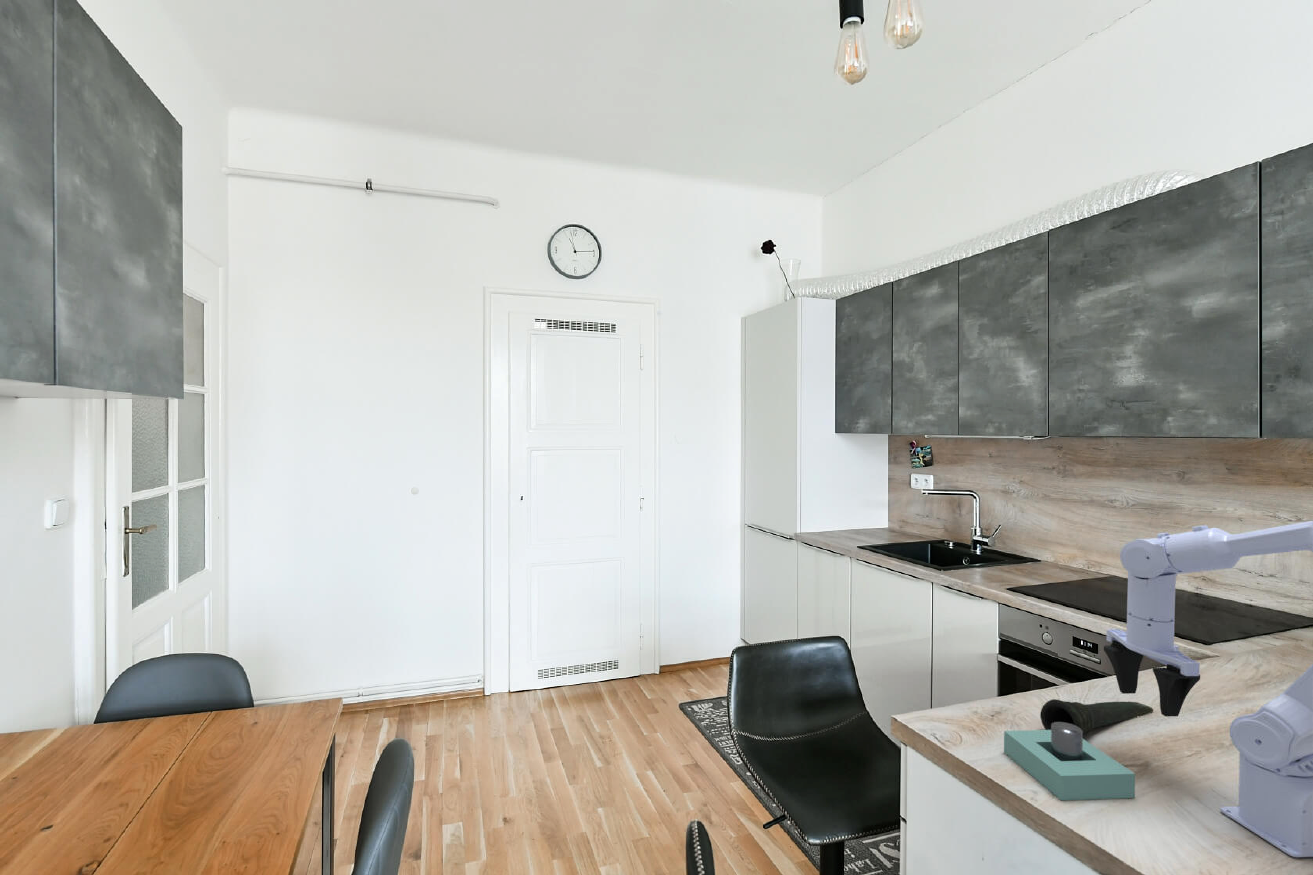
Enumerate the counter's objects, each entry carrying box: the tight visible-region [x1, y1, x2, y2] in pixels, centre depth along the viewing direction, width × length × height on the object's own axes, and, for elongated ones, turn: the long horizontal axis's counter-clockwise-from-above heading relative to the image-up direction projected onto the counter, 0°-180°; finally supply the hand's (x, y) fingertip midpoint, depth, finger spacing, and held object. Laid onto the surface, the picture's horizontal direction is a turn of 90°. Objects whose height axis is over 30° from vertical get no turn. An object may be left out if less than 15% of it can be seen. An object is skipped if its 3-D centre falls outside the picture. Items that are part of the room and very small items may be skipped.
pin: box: [1051, 722, 1084, 761], centre depth 94 cm, size 4×4×7 cm
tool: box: [1039, 699, 1154, 734], centre depth 109 cm, size 28×6×7 cm, turn 111°
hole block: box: [1003, 729, 1136, 801], centre depth 94 cm, size 13×11×4 cm
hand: (1148, 703), depth 95 cm, fingers open, 7 cm apart
